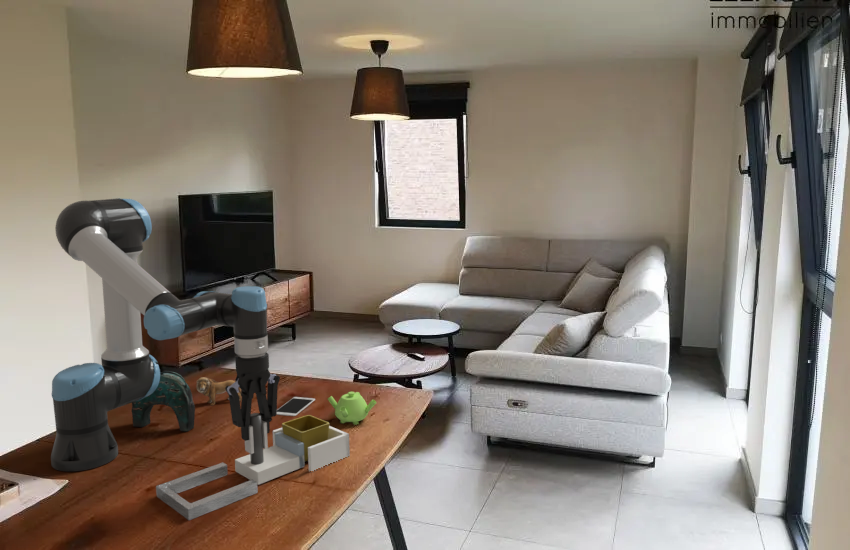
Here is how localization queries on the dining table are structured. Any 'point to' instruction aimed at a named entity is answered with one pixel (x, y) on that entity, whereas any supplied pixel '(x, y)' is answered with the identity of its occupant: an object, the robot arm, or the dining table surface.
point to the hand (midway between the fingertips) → (256, 449)
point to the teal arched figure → (167, 401)
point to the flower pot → (307, 431)
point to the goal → (326, 448)
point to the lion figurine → (213, 388)
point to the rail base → (205, 505)
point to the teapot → (351, 407)
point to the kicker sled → (270, 455)
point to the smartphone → (294, 406)
